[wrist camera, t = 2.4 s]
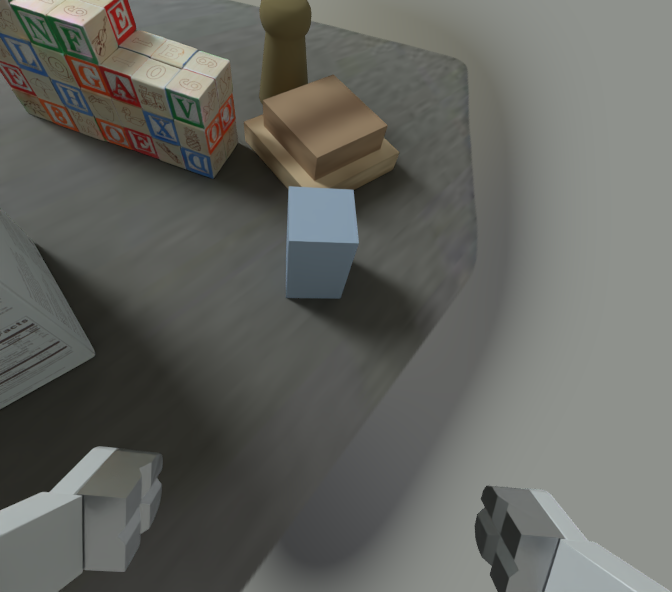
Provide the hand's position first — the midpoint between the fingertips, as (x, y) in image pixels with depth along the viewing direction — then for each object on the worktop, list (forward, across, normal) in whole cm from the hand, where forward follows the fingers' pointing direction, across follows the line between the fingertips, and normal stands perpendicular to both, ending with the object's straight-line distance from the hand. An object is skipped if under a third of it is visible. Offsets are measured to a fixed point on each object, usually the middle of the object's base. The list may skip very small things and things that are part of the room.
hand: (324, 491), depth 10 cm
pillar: (+27, -1, +1) cm, 27 cm away
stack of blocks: (+37, -22, +13) cm, 45 cm away
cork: (+43, -8, +20) cm, 48 cm away
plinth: (+37, -2, +13) cm, 40 cm away
